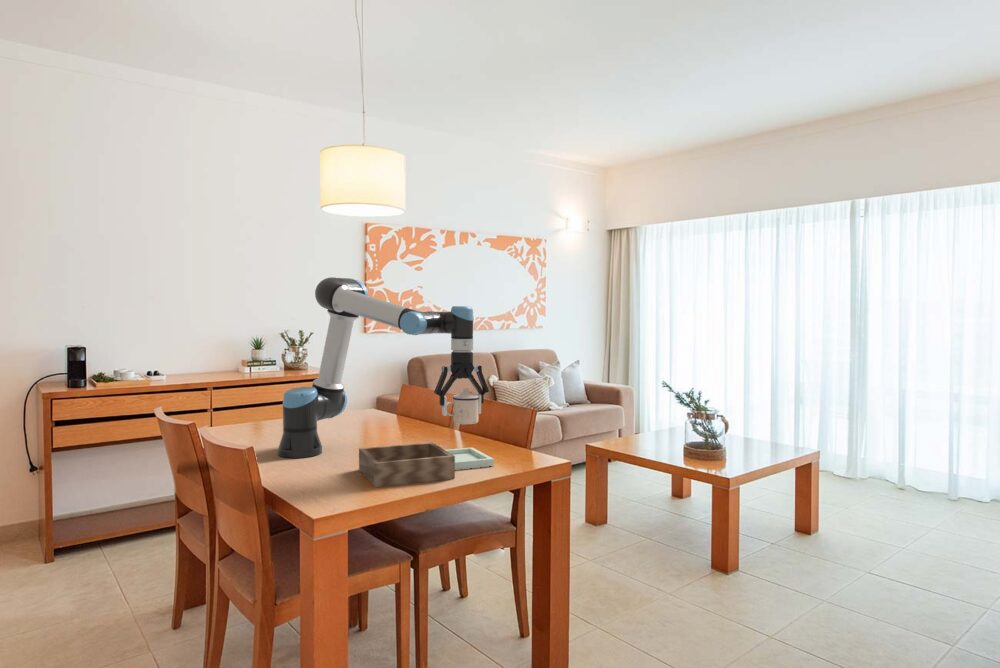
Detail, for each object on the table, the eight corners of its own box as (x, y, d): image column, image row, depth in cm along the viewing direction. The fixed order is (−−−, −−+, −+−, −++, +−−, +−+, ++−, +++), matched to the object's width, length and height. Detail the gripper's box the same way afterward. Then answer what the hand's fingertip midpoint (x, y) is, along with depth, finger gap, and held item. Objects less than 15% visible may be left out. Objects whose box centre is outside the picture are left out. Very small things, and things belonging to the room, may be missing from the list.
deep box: (374, 487, 186) (374, 463, 186) (358, 469, 206) (358, 448, 206) (454, 478, 196) (454, 456, 196) (432, 462, 216) (432, 442, 216)
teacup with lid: (474, 419, 223) (474, 386, 223) (482, 423, 215) (482, 389, 214) (441, 421, 219) (441, 387, 219) (448, 425, 211) (448, 390, 210)
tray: (448, 470, 206) (448, 463, 206) (430, 458, 223) (430, 451, 223) (493, 466, 212) (493, 458, 212) (472, 454, 230) (472, 447, 230)
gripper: (431, 352, 208) (431, 418, 209) (498, 351, 218) (498, 413, 219) (424, 351, 215) (424, 414, 215) (489, 349, 225) (489, 410, 225)
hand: (461, 414), depth 217 cm, fingers closed on teacup with lid, 12 cm apart
